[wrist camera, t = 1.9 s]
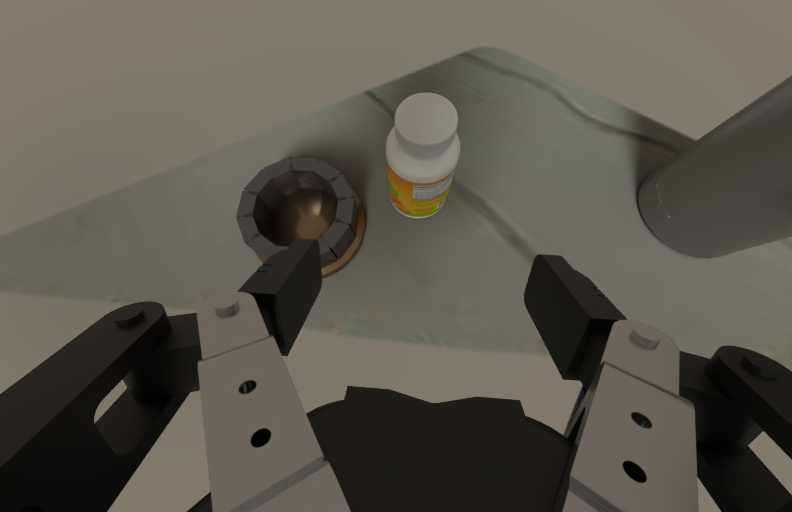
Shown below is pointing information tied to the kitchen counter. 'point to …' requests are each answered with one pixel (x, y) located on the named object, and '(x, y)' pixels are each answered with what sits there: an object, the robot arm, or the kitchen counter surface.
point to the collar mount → (302, 211)
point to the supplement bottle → (422, 154)
